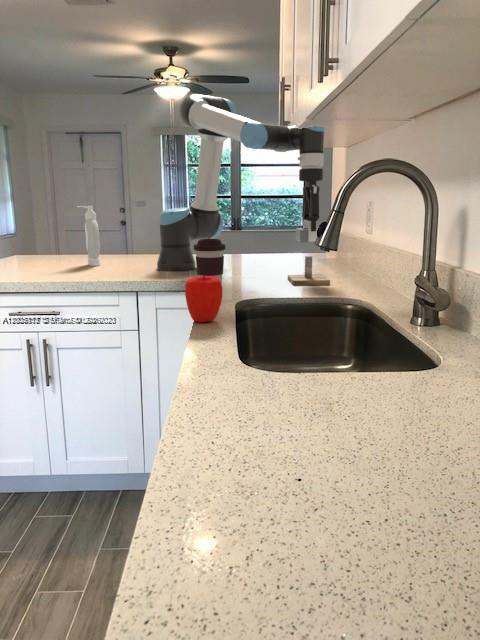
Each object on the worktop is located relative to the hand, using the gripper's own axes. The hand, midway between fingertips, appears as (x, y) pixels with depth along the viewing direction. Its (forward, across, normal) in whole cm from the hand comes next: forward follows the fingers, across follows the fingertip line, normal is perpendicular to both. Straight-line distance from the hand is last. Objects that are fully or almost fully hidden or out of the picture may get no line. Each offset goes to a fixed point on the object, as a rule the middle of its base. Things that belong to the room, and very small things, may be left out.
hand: (309, 240), depth 165 cm
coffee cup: (+14, +6, -33) cm, 36 cm away
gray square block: (0, 0, 0) cm, 0 cm away
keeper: (+14, 0, 0) cm, 14 cm away
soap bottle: (+13, -51, -83) cm, 98 cm away
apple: (+14, +50, -35) cm, 62 cm away
